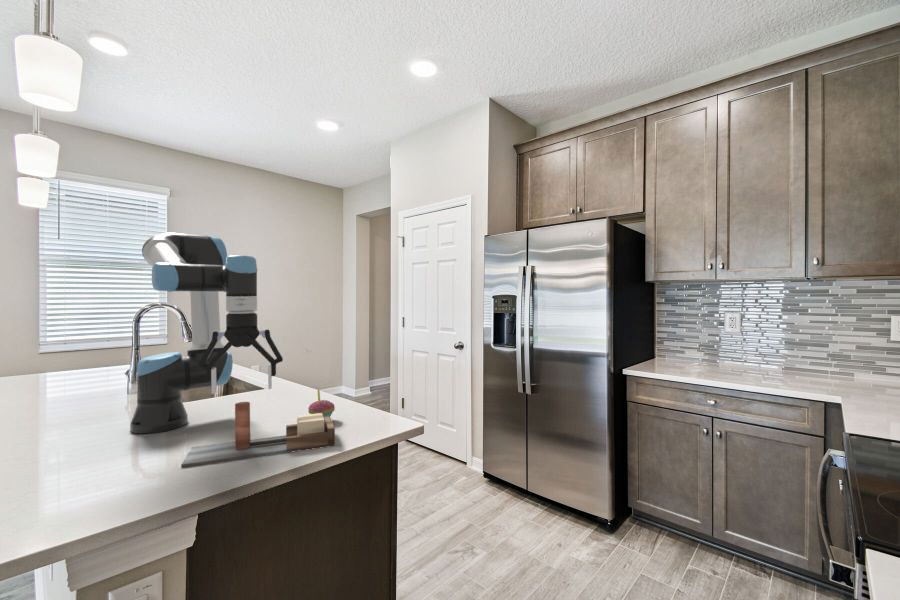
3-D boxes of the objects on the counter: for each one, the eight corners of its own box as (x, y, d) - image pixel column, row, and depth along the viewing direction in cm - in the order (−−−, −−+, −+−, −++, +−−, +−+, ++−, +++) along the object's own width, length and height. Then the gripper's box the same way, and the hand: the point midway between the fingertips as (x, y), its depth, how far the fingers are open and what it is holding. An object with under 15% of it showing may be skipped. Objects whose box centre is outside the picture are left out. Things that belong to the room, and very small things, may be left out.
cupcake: (326, 426, 129) (326, 389, 129) (302, 425, 131) (302, 388, 130) (339, 418, 137) (339, 384, 137) (316, 417, 139) (316, 383, 139)
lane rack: (192, 450, 109) (191, 431, 109) (330, 432, 123) (330, 416, 123) (181, 467, 98) (181, 447, 98) (334, 445, 112) (334, 428, 112)
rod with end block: (236, 443, 111) (236, 401, 111) (322, 432, 120) (321, 393, 120) (233, 452, 105) (233, 407, 105) (324, 440, 114) (324, 398, 114)
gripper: (184, 314, 100) (185, 398, 100) (291, 311, 110) (292, 388, 110) (191, 313, 107) (192, 391, 107) (290, 311, 117) (291, 383, 117)
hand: (242, 390), depth 108 cm, fingers open, 13 cm apart
